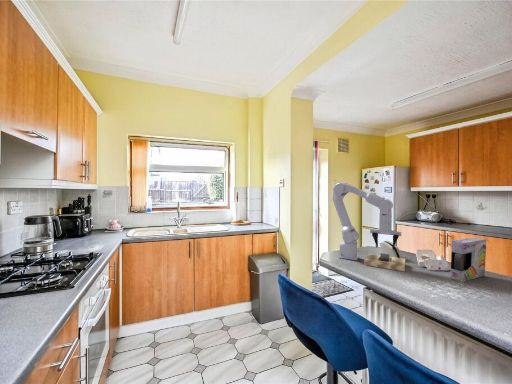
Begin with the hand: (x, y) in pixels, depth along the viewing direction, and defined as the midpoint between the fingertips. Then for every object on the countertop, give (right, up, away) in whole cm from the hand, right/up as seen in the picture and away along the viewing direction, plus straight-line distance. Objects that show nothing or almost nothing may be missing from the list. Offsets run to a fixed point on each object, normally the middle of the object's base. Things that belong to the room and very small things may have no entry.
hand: (385, 248), depth 128 cm
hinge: (+12, -9, +16) cm, 22 cm away
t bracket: (0, -9, 0) cm, 9 cm away
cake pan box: (+28, -10, -18) cm, 34 cm away
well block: (0, -9, 0) cm, 9 cm away
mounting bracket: (+22, -9, -4) cm, 24 cm away
